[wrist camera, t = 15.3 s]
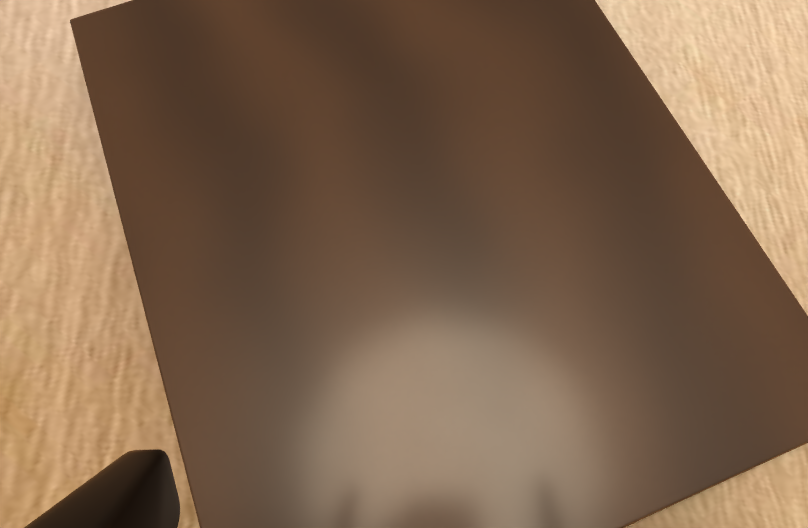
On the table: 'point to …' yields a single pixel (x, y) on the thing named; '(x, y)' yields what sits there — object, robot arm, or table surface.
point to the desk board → (434, 265)
